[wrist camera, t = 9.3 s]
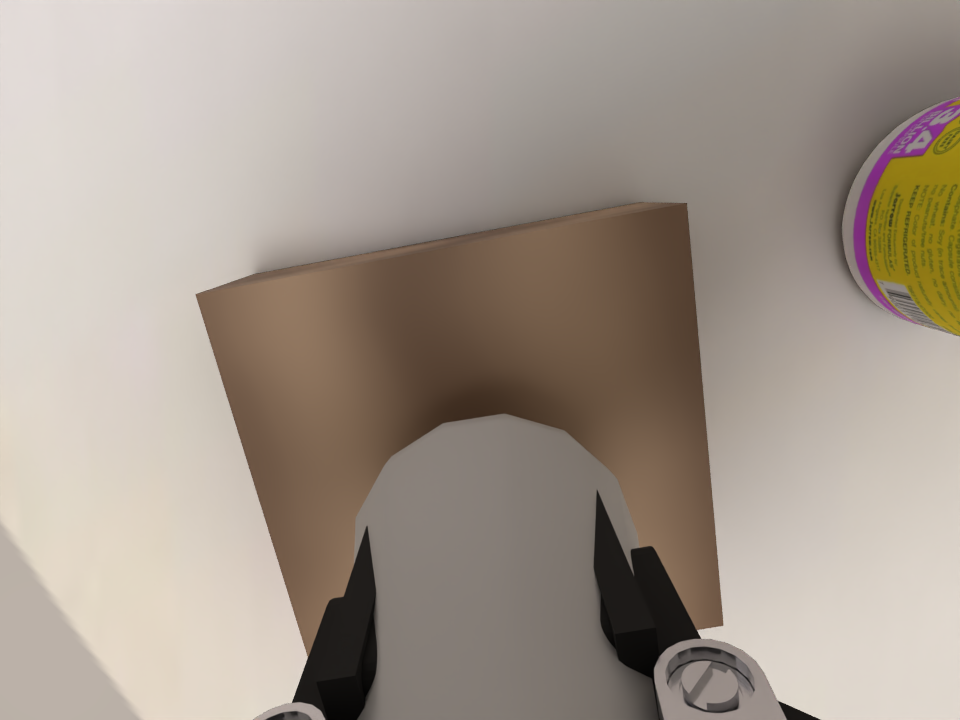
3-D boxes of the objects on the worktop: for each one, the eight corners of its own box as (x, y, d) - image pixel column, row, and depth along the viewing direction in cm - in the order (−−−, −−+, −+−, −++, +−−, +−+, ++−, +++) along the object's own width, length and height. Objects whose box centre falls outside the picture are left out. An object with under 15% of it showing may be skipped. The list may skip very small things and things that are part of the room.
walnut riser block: (640, 202, 18) (686, 203, 14) (676, 547, 21) (723, 625, 17) (253, 274, 18) (195, 294, 14) (345, 602, 21) (318, 691, 18)
